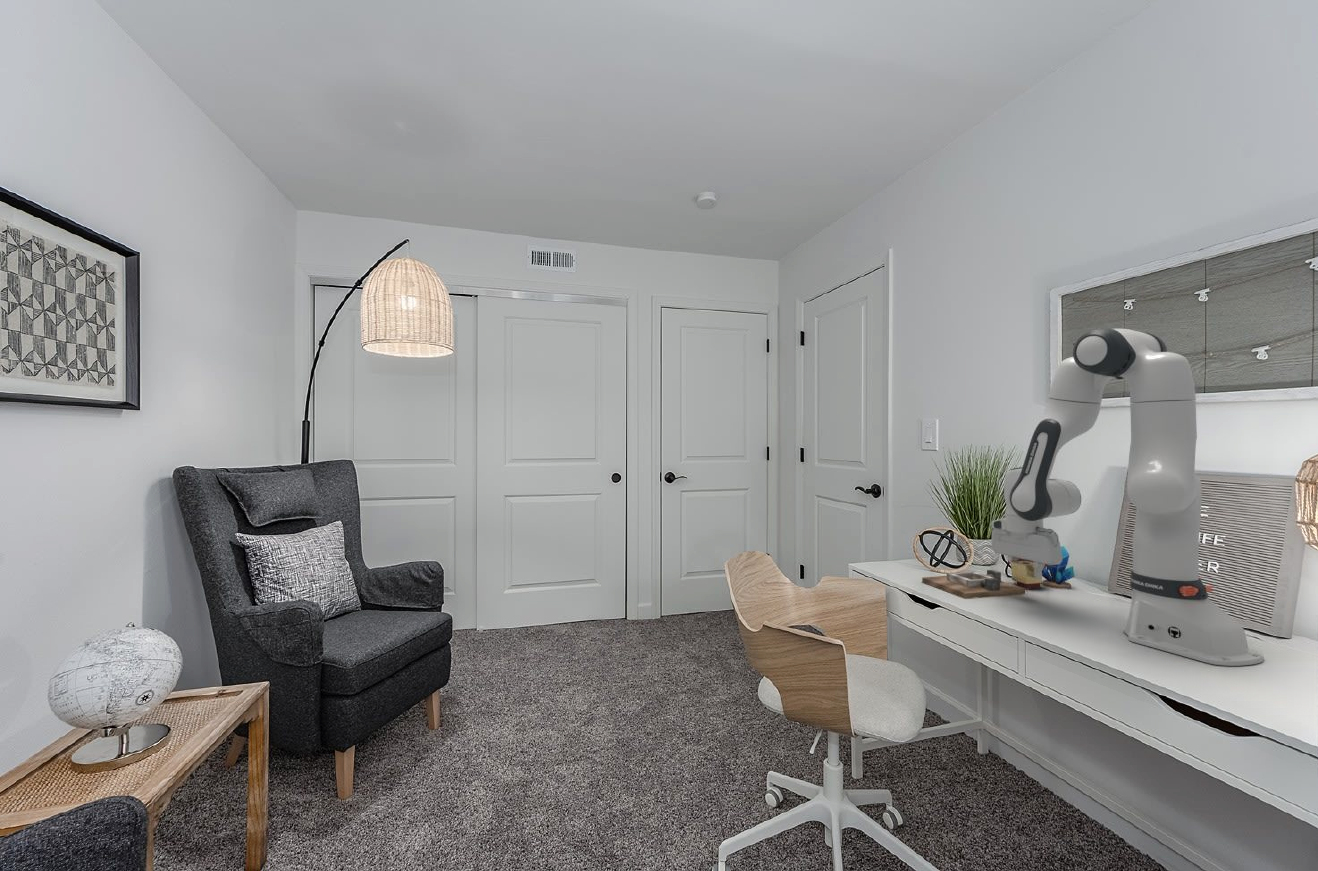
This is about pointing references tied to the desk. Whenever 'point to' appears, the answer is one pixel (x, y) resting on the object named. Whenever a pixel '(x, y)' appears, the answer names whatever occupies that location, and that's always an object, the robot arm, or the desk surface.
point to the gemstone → (1058, 573)
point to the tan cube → (1024, 572)
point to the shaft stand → (974, 584)
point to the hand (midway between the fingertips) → (1026, 575)
